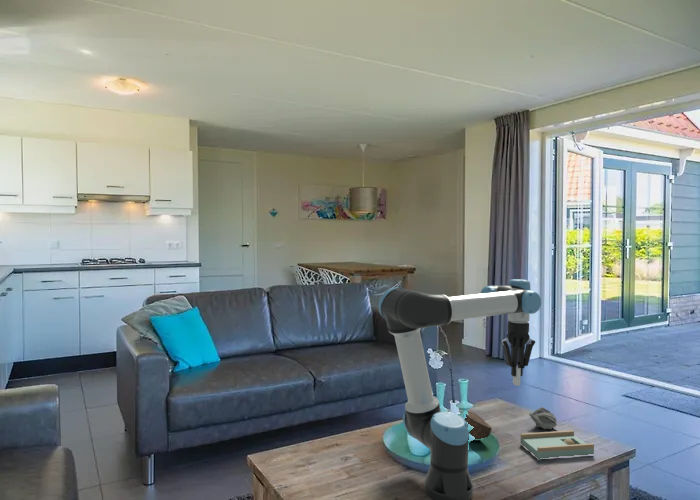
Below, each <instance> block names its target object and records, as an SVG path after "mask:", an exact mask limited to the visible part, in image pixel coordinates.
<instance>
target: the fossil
mask: <svg viewBox="0 0 700 500" xmlns="http://www.w3.org/2000/svg"><path fill="white" fill-rule="evenodd" d="M528 415H529V417H530V418H531V419H532V421H533V422H534V423H535V427H537V426H538V427H537V428H539V427H541V428H540V429H543V430H545V429H550V430H553V429H554V428H556V427H557V425H558V424H557V418H556V416H555V414H554V413H552V412H551V411H550V410H548V409H547V408H545V407H543V406H542V407H539V408H537V409H536V410H534V411H533V412H532V413H529V414H528ZM552 428H553V429H552Z"/></svg>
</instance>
